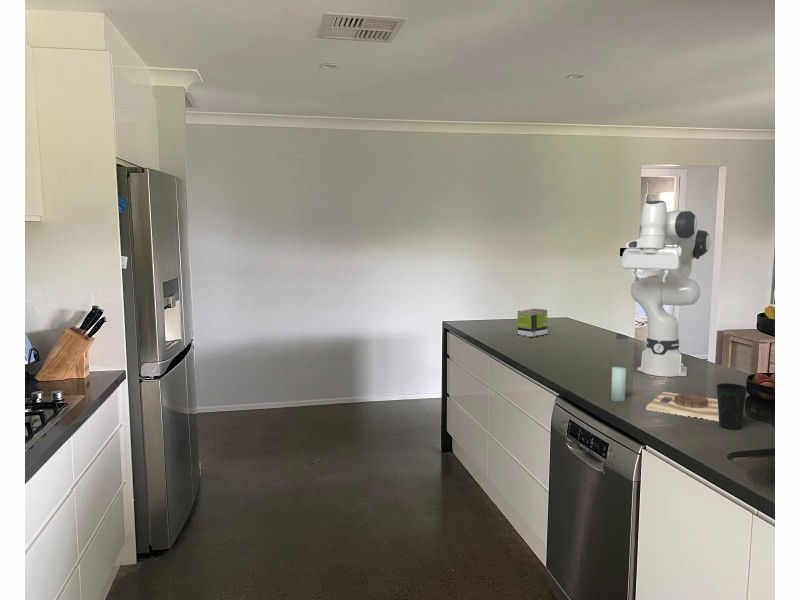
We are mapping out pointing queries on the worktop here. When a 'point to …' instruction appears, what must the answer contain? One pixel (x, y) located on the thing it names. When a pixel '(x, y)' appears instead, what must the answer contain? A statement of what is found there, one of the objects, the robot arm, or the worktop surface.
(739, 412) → the cup
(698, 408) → the socket board
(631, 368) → the worktop surface
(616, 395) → the peg
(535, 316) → the tea box
